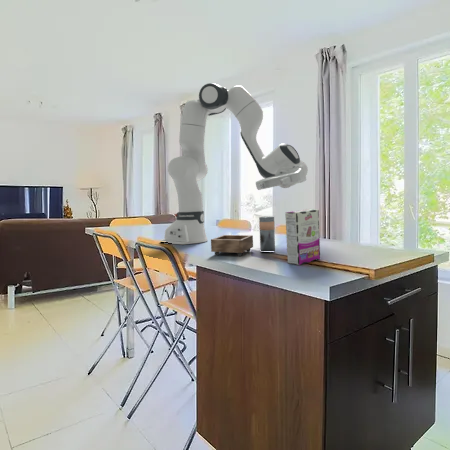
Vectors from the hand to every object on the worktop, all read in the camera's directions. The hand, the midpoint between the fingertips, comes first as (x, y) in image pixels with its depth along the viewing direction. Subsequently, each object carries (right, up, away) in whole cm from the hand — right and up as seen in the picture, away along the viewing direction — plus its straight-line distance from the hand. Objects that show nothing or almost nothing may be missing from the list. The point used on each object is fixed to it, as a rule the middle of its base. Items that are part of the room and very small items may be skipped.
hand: (270, 184), depth 140 cm
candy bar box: (+7, -28, -25) cm, 38 cm away
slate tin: (-2, -26, -6) cm, 26 cm away
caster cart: (-15, -26, -6) cm, 31 cm away
